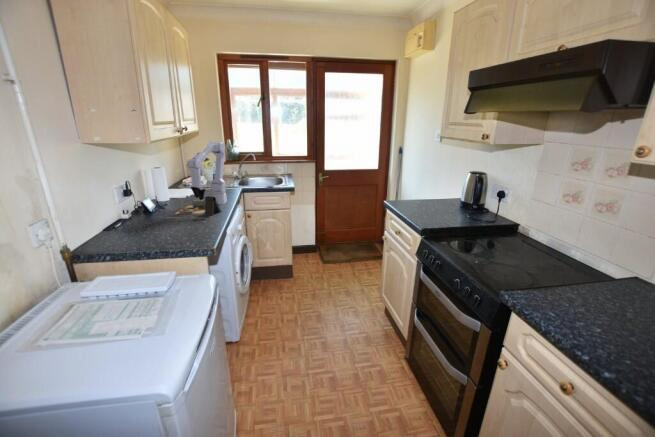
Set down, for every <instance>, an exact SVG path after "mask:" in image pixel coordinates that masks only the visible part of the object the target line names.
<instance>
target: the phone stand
mask: <svg viewBox="0 0 655 437" xmlns="http://www.w3.org/2000/svg"><path fill="white" fill-rule="evenodd" d="M204 200H205V201H206V204H205V212H204V216H210V217H212V216H214V215H215V213H218V214H219V213H222V210H221V208H220V207H219V206H220V205H218V204H217V202H216V198H215V197H214V196H208V195H207V196H205V197H204Z"/></svg>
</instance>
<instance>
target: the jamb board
mask: <svg viewBox="0 0 655 437" xmlns="http://www.w3.org/2000/svg"><path fill="white" fill-rule="evenodd" d="M174 214H175V215H177V214H179V215H180V214H183V215H202V214H205V208H198V207H197V208H193V205H187V206H185V207H182V209H180V210H178V211H176V212H175V213H174Z"/></svg>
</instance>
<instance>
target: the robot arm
mask: <svg viewBox="0 0 655 437" xmlns="http://www.w3.org/2000/svg"><path fill="white" fill-rule="evenodd" d="M211 153H212V154H213V155H215V168H214V171H215V172H214V179H213V180H211V183H210V191H211V192H212V194H213V197H215V198H216V202H217V204H218V206H221V205H224V204H227V202H228V197H227V196H228V195H227V193H226V190H227V183H226V181H225V180H224V178H223V177H224V165H225V155H226V154H225V153H226V145H225V144H224V143H223V142H222V141H220V142H219V141H218V142H217V141H214V142H213V141H209V142H208V143H207V146H206V147H205V148H204V149H203V151H200V152H199V151H198V152H197V153H196V154H195V155H194V156H192V158H190V159H188V160H187V162H186V166H187V168H188V170H189V172H190V179H191V184H190V188H189V189H191V191H192V193H193V195H194V198H197V199H199V200H205V197H204V196H205V192H206V188H204V186H203V183H202V175H201V169H200V168H201V166H202V163H203V162H204V161H205V160H207V157H208V155H209V154H211Z"/></svg>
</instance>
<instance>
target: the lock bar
mask: <svg viewBox="0 0 655 437" xmlns="http://www.w3.org/2000/svg"><path fill="white" fill-rule="evenodd" d="M191 202H192V206H193V208H197V207H198V208H205V204H206V201H205V199H203V200H200V199H199V198H197V199H193V200H192V201H191Z"/></svg>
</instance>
